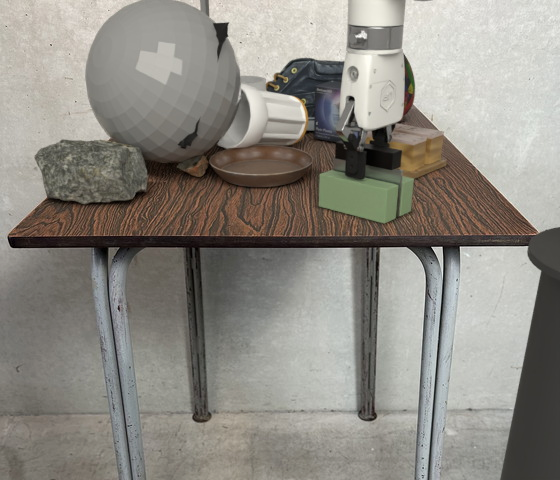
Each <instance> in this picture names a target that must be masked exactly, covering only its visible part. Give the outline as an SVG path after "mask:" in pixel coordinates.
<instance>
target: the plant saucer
mask: <svg viewBox="0 0 560 480" xmlns="http://www.w3.org/2000/svg"><path fill="white" fill-rule="evenodd" d="M313 163H314V156H313V155H312V154H311V153H309V152H307V151H305V150H302V149H299V148H296V147H290V146H285V145H279V146H274V145H253V146H249V147H243V148H230V149H226V148H225V149H223V150H220V151H217V152H215V153H214V154H212V155H211V156H210V157H209V159H208V164H209V165H210V166H211V168H212V169H213V171H214V172H215V173H216V174H217V175H218V176H219V178H220V179H222V180H223V181H225V182H227V183H230V184H231V185H236V186H240V187H247V188H272V187H279V186H285V185H288V184H289V185H290V184H292V183H294V182H296V181H298V180H301V178H302V177H303V176H304V175H305V174H306V173H307V172H308V171H309V169H310V168H311V166H312V165H313Z"/></svg>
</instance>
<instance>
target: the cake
mask: <svg viewBox="0 0 560 480" xmlns="http://www.w3.org/2000/svg"><path fill="white" fill-rule="evenodd" d="M395 125H396V126H395V128H394V130H393V132H392V141H391V142H390V145H389V148H393V149H398V150H402V156H401V167H399V168H397V169H401V170H403V173H402V176H404V177H409V178H414V180H415V179H419V178H420V177H422V176H425V175H427V174H430V173H432V172H435V171H437V170H440V169H442V168H444V167H446V166H447V163H448V159H442V152H443V143H444V133H445V131H443V130H438V129H433V128H427V127H420V126H414V125H409V124H404V123H403V124H402V123H398V122H397V123H396V124H395ZM370 140H373V138H372V131H368V133H367V137H366V142H365V143H367V144H369V142H370Z"/></svg>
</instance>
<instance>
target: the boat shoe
mask: <svg viewBox="0 0 560 480" xmlns="http://www.w3.org/2000/svg"><path fill="white" fill-rule="evenodd" d="M344 62H345V60H325V59H324V60H322V59H321V60H320V59H315V58H312V57H299V58H298V57H297V58H293V59H291V60H289V61H288V62H287V63H286V64H285V66H284V67H283V68H282V69H281V71H280V72H275V73H274V74H273V79H272V80H269V81H266V91H268V92H273V93H279V94H284V95H290V96H294V97H297V98H299V99H300V100H301V101H302V102H303V103H304V105H305V107H306V110H307V113H308V126H307V130H306V132H311V131H312V132H314V120H315V86H316V85H319V84H322V83H326V82H329V81H338V82H342V75H343V68H344Z"/></svg>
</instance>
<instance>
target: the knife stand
mask: <svg viewBox="0 0 560 480" xmlns="http://www.w3.org/2000/svg"><path fill="white" fill-rule="evenodd" d="M318 176H319V177H318V180H319V181H318V183H319V184H318V207H319V208H324V209H327V210H330V211H335V212H339V213H343V214H347V215H350V216H354V217H357V218H361V219H366V220H369V221H372V222H377V223H381V224H384V225H385V224H387V223H389V222H392V221H393V220H395V219H396V209H397V197H398V185H396V184H392V183H387V182H383V181H378V180H374V179H369V178H364V179H362V180H360V179H356V178H352V177H347V176H346V175H345V173H343V172H338V171H334V170H333V169H331V170H327V171H325V172H322V173H319V175H318ZM414 181H415V179H414V178H409V177H404V176H402V185H401V196H400V208H399V217H402V216H404V215H407V214H409V213H410V212H412V206H413V205H412V204H413V193H414V183H415V182H414Z"/></svg>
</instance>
